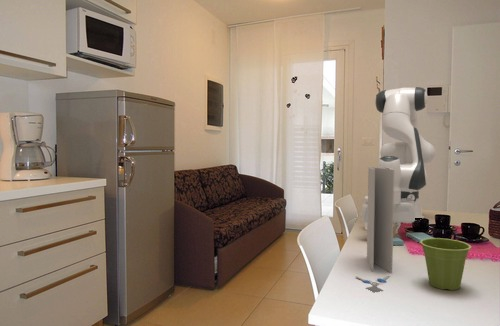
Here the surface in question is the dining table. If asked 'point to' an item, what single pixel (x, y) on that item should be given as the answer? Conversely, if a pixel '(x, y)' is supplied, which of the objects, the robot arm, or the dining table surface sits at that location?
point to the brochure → (380, 217)
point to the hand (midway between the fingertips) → (387, 233)
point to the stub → (396, 238)
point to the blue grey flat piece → (374, 287)
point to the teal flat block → (418, 236)
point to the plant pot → (445, 261)
